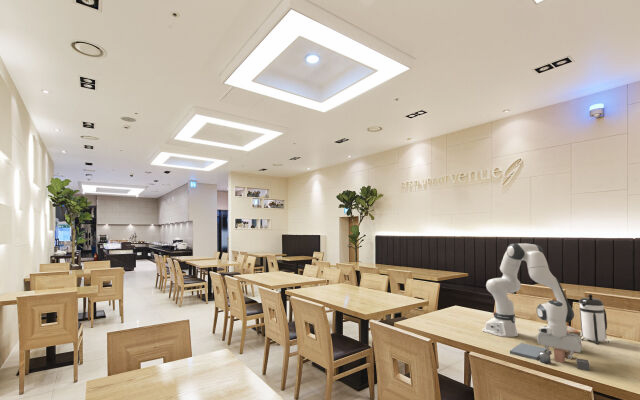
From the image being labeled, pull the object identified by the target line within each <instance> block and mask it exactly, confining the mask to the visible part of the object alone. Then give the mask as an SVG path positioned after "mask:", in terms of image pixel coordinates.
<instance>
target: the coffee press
mask: <svg viewBox="0 0 640 400" xmlns="http://www.w3.org/2000/svg"><path fill="white" fill-rule="evenodd" d="M587 296H588V297H581V298H580V299H579V300H578V304H579V315H580V317H579V318H580V328H581V331H580V332H581V341H583V340H589V341H593V342H595V345H598V346H599V344H600V342H605V343H607V342H608V343H607V344H609V343H610V341H609V340H608V338H607V332H606V331H607V329H608V321H607V320H608V319H607V311H606V309H605V308H604V306H605V305H604V303H603V301H602V300H601V299H598V298H596V297H593V295H592V294H591V293H590V294H588V295H587ZM582 337H583V338H582ZM606 340H607V341H606Z"/></svg>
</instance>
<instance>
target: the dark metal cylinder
mask: <svg viewBox="0 0 640 400" xmlns="http://www.w3.org/2000/svg"><path fill="white" fill-rule="evenodd" d="M539 357H540V358H539V362H540V363H541V364H544V365H546V364H547V365H550V364H552V363H551V362H552V361H551V354H550V353H548V351H547V352H544V351H540V352H539Z"/></svg>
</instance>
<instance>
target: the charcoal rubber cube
mask: <svg viewBox="0 0 640 400" xmlns="http://www.w3.org/2000/svg"><path fill="white" fill-rule="evenodd" d="M575 359H576V367H577V369H578V370H582V371H587V372H590V371H591V368H590V367H591V366H590V361H589V359H585V358H584V359H583V358H577V357H576V358H575Z"/></svg>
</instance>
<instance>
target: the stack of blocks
mask: <svg viewBox="0 0 640 400" xmlns="http://www.w3.org/2000/svg"><path fill="white" fill-rule="evenodd" d="M567 333H572V334H577V335H578V337H579V336H580V337H581V336H582V331H580V330H578V329H576V328H574V327H573V326H572V327H571V326H570V325H567ZM581 338H582V337H581ZM581 348H582V346H581ZM582 350H583V349H582ZM582 350H581V352H580V353H583V351H582Z"/></svg>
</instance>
